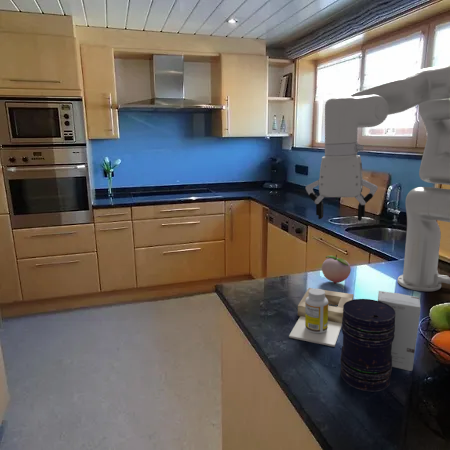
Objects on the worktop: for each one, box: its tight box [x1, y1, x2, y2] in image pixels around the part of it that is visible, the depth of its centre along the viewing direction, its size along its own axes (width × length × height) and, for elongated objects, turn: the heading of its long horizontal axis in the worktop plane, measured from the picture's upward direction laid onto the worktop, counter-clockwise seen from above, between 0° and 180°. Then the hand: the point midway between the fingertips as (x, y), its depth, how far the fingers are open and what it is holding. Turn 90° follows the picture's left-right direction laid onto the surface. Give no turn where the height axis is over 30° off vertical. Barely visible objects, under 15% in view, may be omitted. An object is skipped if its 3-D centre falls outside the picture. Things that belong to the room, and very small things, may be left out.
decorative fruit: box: [321, 254, 352, 284], centre depth 122 cm, size 9×8×10 cm
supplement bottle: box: [305, 288, 329, 333], centre depth 93 cm, size 6×6×10 cm
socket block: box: [297, 287, 355, 323], centre depth 105 cm, size 13×13×3 cm
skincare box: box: [377, 290, 421, 372], centre depth 80 cm, size 8×6×15 cm
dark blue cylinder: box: [340, 298, 396, 392], centre depth 75 cm, size 10×10×15 cm
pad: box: [288, 316, 342, 348], centre depth 94 cm, size 11×11×1 cm
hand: (340, 218), depth 95 cm, fingers open, 9 cm apart
